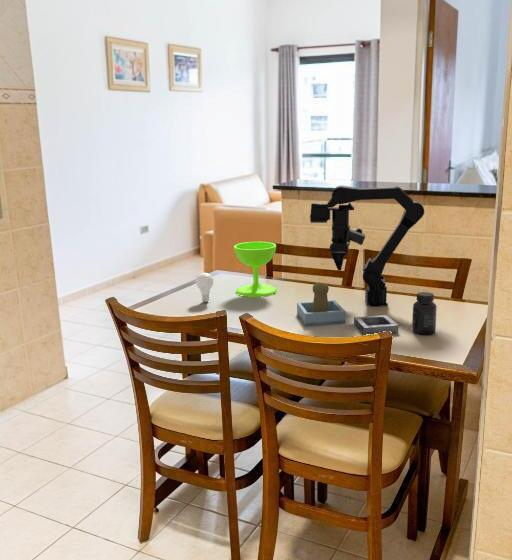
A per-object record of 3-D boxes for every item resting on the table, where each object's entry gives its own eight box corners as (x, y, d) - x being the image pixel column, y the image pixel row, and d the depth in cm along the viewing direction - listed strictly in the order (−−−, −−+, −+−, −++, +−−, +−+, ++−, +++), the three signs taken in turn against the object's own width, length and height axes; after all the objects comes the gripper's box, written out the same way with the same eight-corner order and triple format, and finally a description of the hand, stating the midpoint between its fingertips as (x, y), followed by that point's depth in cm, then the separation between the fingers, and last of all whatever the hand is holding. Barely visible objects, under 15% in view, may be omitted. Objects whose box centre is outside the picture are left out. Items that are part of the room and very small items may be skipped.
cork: (333, 317, 199) (333, 284, 196) (316, 319, 197) (316, 286, 194) (324, 312, 204) (324, 280, 202) (308, 314, 202) (308, 282, 200)
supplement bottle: (409, 329, 188) (410, 291, 185) (430, 328, 189) (432, 290, 186) (416, 336, 181) (417, 297, 179) (438, 335, 182) (440, 296, 179)
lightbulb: (193, 303, 222) (192, 274, 219) (201, 299, 227) (200, 270, 225) (209, 305, 219) (208, 275, 217) (217, 300, 225) (216, 271, 222)
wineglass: (277, 296, 227) (276, 249, 223) (234, 297, 228) (232, 250, 223) (276, 286, 243) (275, 241, 239) (236, 286, 243) (234, 242, 239)
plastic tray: (334, 311, 208) (334, 300, 207) (345, 323, 195) (345, 311, 194) (297, 314, 206) (296, 302, 205) (305, 326, 194) (305, 313, 193)
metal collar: (386, 322, 195) (386, 315, 194) (398, 333, 185) (398, 325, 184) (353, 324, 194) (354, 317, 193) (364, 335, 183) (364, 327, 183)
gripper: (363, 227, 200) (363, 273, 204) (364, 218, 218) (363, 261, 222) (329, 227, 202) (329, 273, 206) (333, 218, 220) (333, 261, 224)
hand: (340, 267), depth 214 cm, fingers open, 9 cm apart
